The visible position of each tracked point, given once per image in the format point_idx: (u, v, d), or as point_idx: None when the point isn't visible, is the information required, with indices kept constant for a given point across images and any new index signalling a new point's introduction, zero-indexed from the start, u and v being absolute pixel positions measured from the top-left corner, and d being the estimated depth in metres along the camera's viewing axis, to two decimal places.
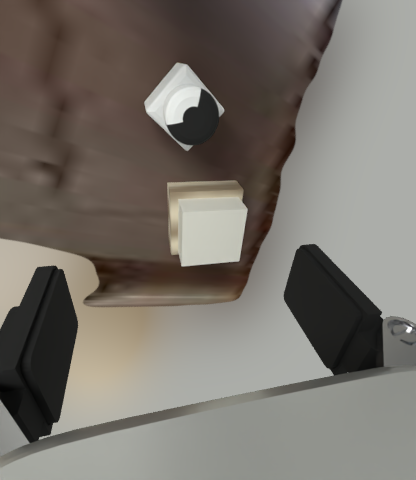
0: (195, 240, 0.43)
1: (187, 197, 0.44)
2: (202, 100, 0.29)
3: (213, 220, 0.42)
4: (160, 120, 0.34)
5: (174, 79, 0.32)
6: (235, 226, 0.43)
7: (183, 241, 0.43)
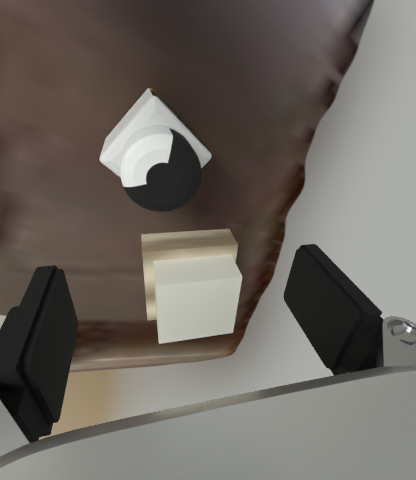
0: (175, 315, 0.33)
1: (165, 256, 0.34)
2: (175, 153, 0.19)
3: (197, 292, 0.32)
4: (120, 171, 0.24)
5: (137, 117, 0.22)
6: (227, 297, 0.34)
7: (159, 317, 0.33)
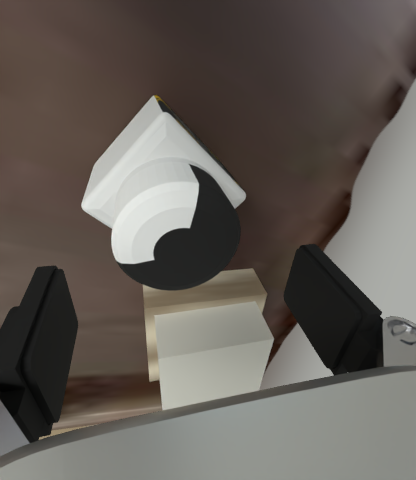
0: (184, 387, 0.25)
1: (174, 312, 0.26)
2: (203, 213, 0.12)
3: (214, 360, 0.24)
4: (113, 222, 0.16)
5: (138, 145, 0.14)
6: (253, 361, 0.26)
7: (163, 392, 0.25)
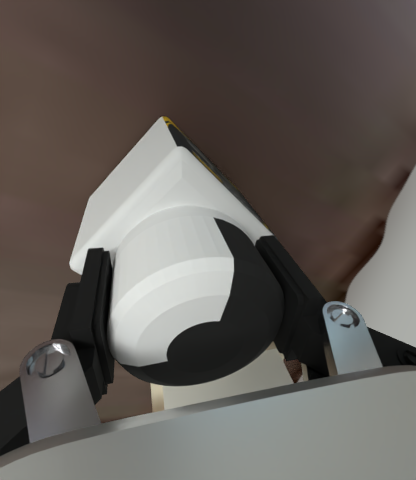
0: None
1: None
2: (239, 300, 0.08)
3: None
4: None
5: (144, 189, 0.11)
6: None
7: None
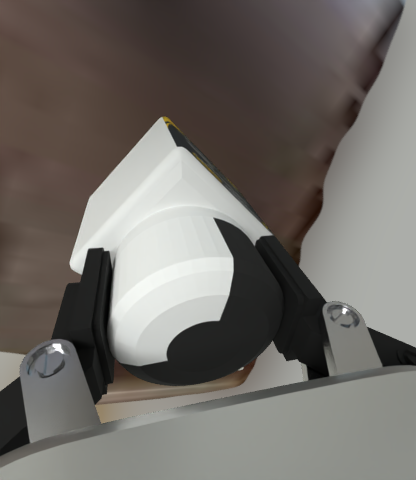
0: None
1: None
2: (239, 300, 0.08)
3: None
4: None
5: (144, 189, 0.11)
6: None
7: None
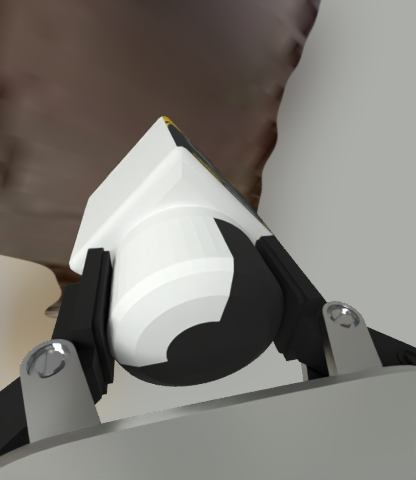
0: None
1: None
2: (239, 301, 0.08)
3: None
4: None
5: (144, 189, 0.11)
6: None
7: None
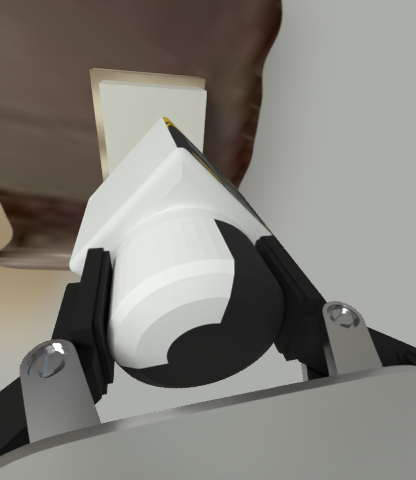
0: (127, 141, 0.28)
1: None
2: (240, 303, 0.08)
3: (152, 106, 0.27)
4: None
5: (144, 190, 0.11)
6: (190, 123, 0.28)
7: (107, 141, 0.28)
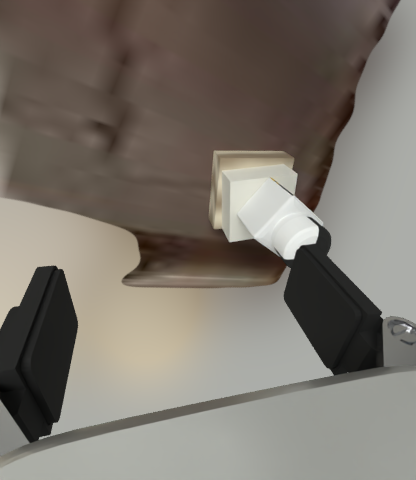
0: None
1: (237, 164, 0.41)
2: (320, 237, 0.31)
3: None
4: (266, 242, 0.35)
5: (282, 209, 0.33)
6: None
7: (231, 214, 0.41)
